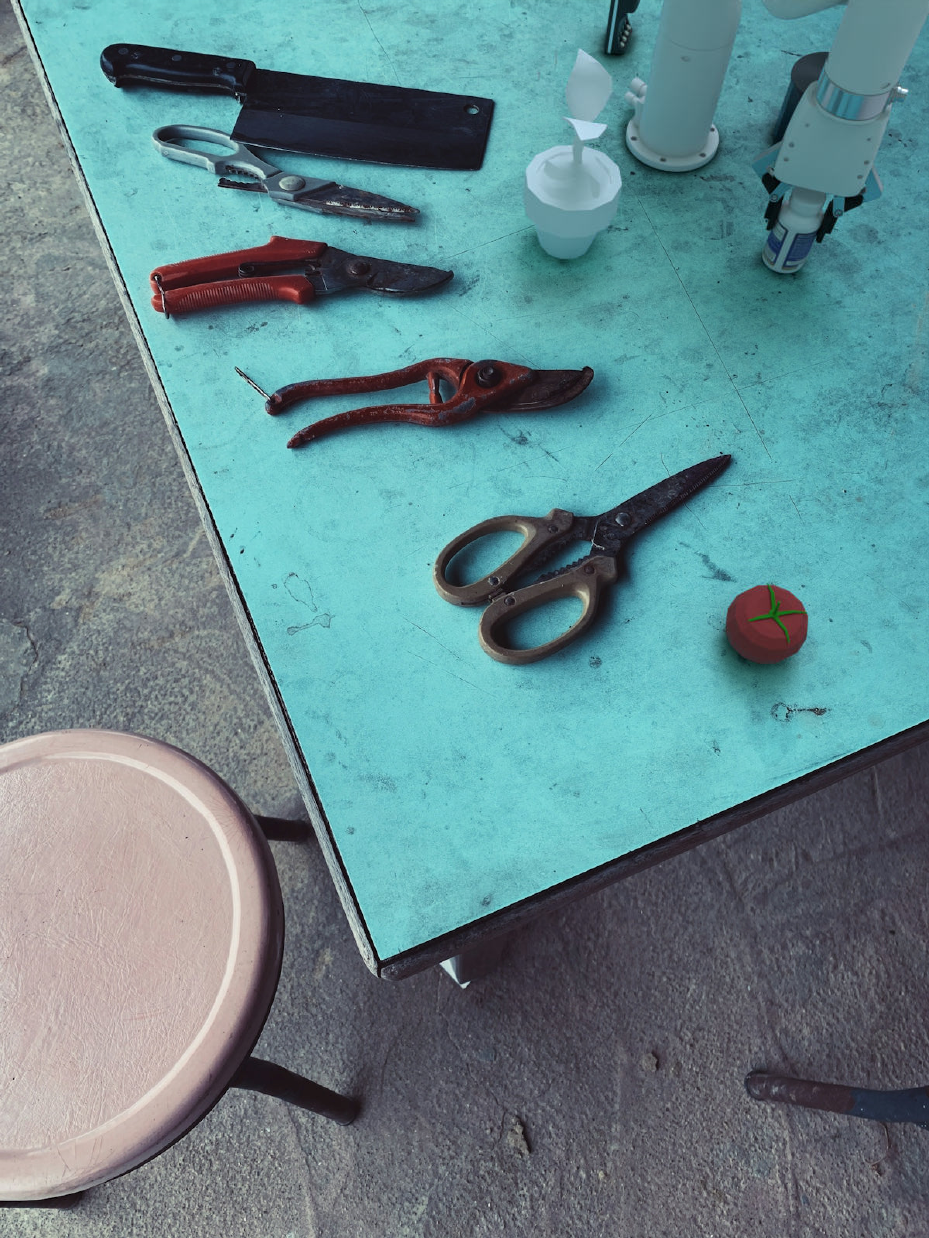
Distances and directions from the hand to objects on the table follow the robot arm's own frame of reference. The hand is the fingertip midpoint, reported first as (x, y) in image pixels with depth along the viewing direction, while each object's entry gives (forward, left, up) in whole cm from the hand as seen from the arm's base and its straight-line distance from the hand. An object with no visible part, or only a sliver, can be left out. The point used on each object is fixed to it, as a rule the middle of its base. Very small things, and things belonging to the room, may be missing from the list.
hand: (795, 228), depth 113 cm
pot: (-13, +20, -5) cm, 25 cm away
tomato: (+33, -43, -5) cm, 54 cm away
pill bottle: (0, 0, -5) cm, 5 cm away
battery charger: (-45, +15, -5) cm, 48 cm away
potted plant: (-20, -20, -5) cm, 28 cm away
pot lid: (-13, +20, +3) cm, 24 cm away
